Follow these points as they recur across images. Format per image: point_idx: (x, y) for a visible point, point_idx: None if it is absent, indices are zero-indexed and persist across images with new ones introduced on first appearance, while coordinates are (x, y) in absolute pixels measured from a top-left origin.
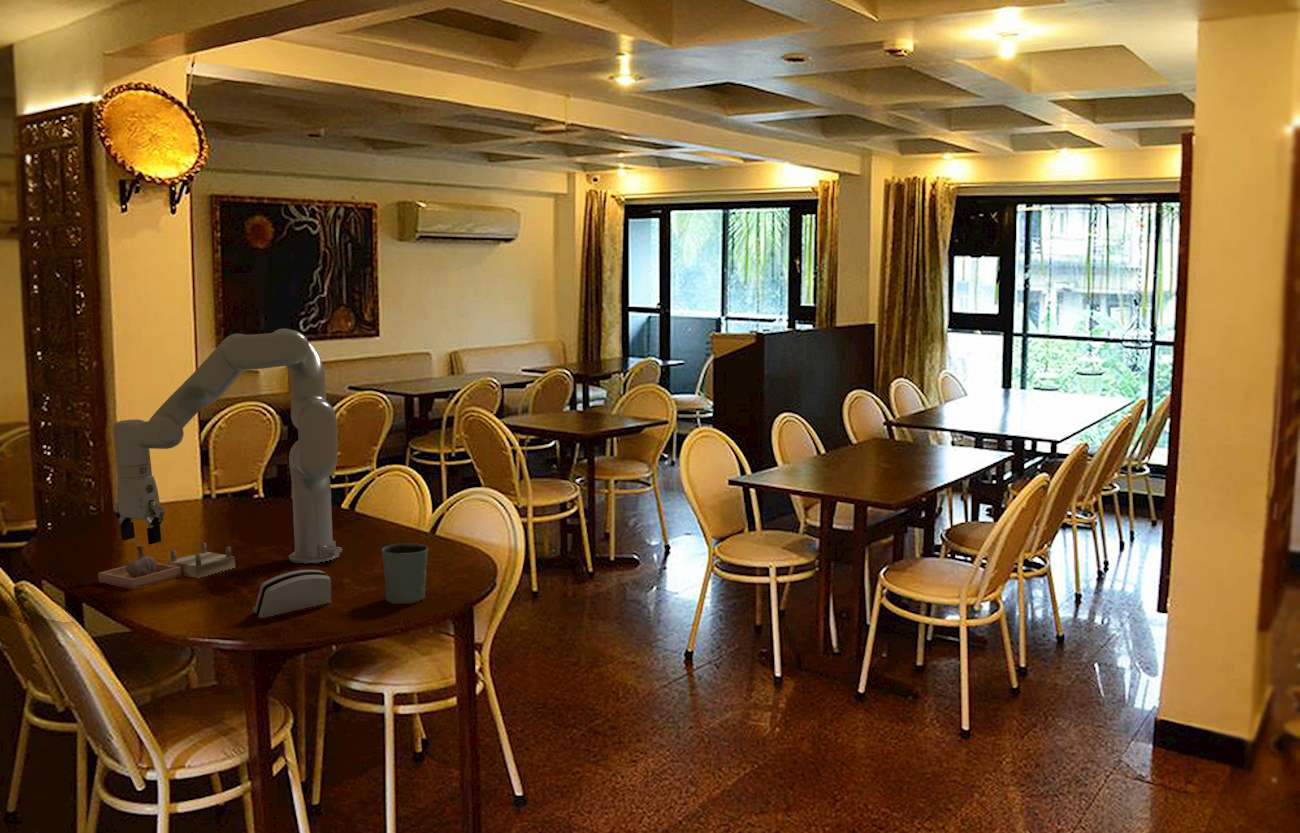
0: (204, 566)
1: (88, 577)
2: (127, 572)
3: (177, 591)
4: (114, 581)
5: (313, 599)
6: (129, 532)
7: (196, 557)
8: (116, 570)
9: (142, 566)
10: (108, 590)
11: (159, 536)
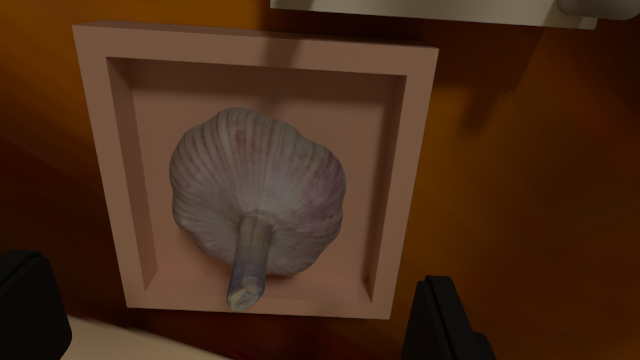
0: None
1: (8, 235)
2: (140, 165)
3: (578, 230)
4: None
5: None
6: (15, 346)
7: (615, 19)
8: (138, 234)
9: (323, 247)
10: (285, 319)
11: (490, 351)
